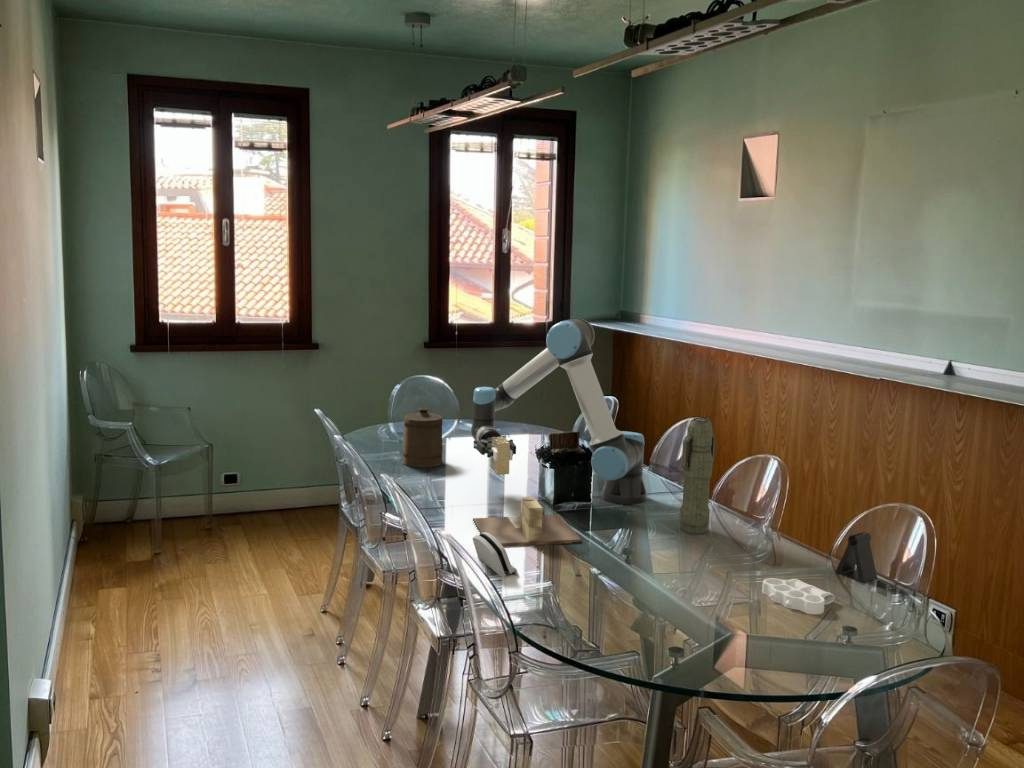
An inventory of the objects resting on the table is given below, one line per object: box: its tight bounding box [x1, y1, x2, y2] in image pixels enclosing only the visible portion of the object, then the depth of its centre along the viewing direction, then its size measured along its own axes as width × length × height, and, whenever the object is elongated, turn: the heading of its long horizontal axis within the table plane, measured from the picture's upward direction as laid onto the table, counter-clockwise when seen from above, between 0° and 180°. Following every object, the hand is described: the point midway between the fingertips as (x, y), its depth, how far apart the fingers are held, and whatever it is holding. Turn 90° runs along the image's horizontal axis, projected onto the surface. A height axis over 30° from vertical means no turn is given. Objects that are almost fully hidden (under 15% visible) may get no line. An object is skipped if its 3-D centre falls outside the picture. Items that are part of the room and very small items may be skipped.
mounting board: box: [472, 496, 582, 548], centre depth 292 cm, size 28×24×11 cm
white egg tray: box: [761, 577, 836, 615], centre depth 246 cm, size 3×18×15 cm
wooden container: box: [402, 405, 443, 469], centre depth 369 cm, size 15×15×22 cm
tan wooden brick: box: [490, 436, 510, 476], centre depth 308 cm, size 4×9×10 cm, turn 13°
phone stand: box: [835, 531, 878, 584], centre depth 263 cm, size 9×6×12 cm, turn 36°
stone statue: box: [679, 417, 716, 536], centre depth 296 cm, size 9×12×35 cm
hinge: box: [472, 532, 519, 578], centre depth 263 cm, size 17×5×10 cm, turn 25°
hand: (503, 456), depth 303 cm, fingers closed on tan wooden brick, 4 cm apart
